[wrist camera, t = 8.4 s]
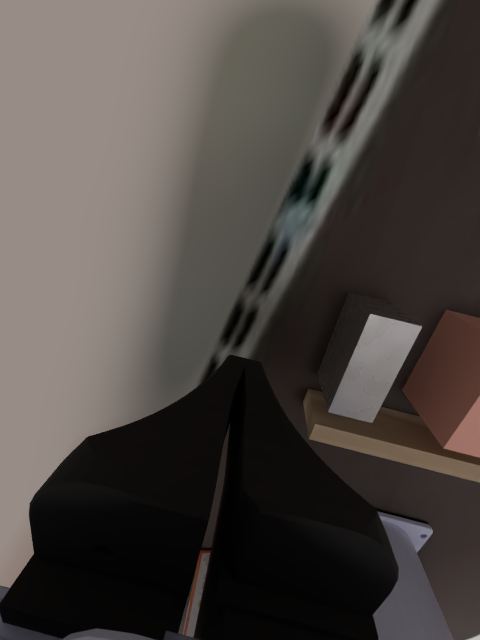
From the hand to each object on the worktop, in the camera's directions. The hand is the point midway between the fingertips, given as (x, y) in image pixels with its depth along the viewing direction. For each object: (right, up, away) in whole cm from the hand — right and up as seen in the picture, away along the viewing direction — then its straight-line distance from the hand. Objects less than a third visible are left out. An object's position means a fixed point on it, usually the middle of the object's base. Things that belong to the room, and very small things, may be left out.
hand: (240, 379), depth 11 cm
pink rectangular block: (+14, 0, +6) cm, 15 cm away
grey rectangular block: (+7, +1, +7) cm, 10 cm away
